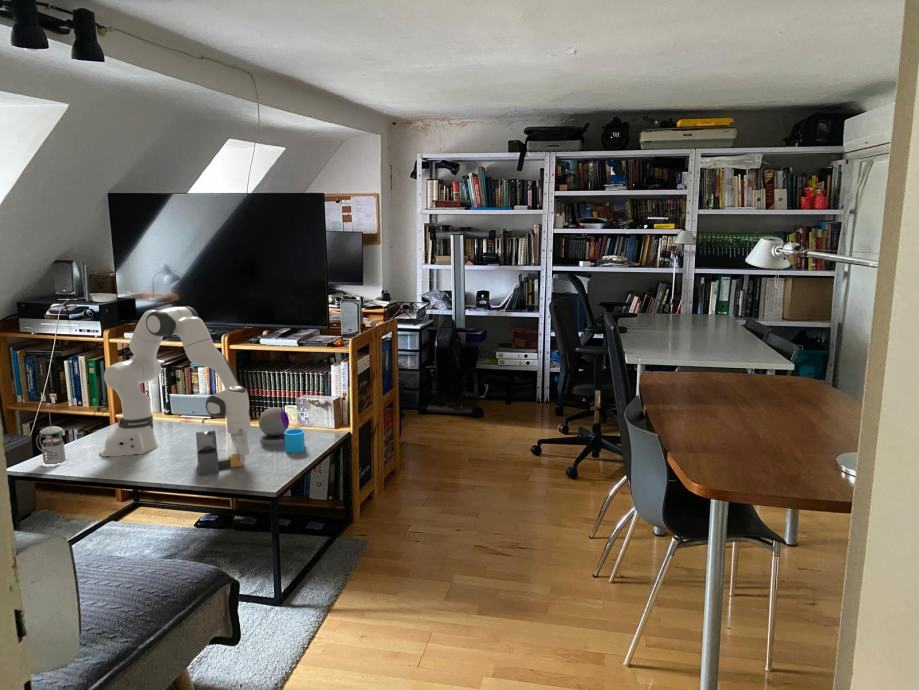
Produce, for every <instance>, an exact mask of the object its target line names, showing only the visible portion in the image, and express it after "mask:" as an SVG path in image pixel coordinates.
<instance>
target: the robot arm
mask: <svg viewBox="0 0 919 690" xmlns="http://www.w3.org/2000/svg"><path fill="white" fill-rule="evenodd" d="M174 335H175V336H177V337H179V338H180V341H181V343H182V346H183V349H184V352H185V355H186V357H187V358H188V360H189V361H190V362H191V363H193V364H194V365H196V366H199V367H203V368H209V369H212V370H213V371H214V372H216V374H217V375H218V378H219V379H220V381H221V383H222V385H223V387H224V388H225V389H224V390H222V391H220V392H216V393H213V394H211V395H209V396H207V399H206V400H205V409H206V412H207V413H208V415H209V416H211V417H212V418H216V419H217V418H226V428H227V429H226V431H227V433H228V434H230V438H231V441H232V444H233V446H234V448H235V449H236V454H237V453H239V456H240V457H239V459H240V462H244V463H245V457H246V456H249V454H250V450H249V449H250V448H249V439H248V434H249V432H250V431H251V428H252V426H251V416H250V400H249V399H250V397H249V395H248V391H247V389H246V387H244V386H242V385H241V384H240V382H239V380H238V378H237V376H236V374H235V372H234V370H233V368H232V367H231V365H230V363H229V360H228V359H227V358H226V356H225V355H224V354H223V353H222V352H220V351H219V349H218V348H217V347H216V346H215V344H214V342H213V339H212V337H211V334H210V332H209V329H208V328H207V326H206V324H205V322H204V321H203V319H201V317H199V315H198V312H197V311H196V310H195V309H194V308H193V307H191V306H186V305H185V306H184V305H181V306H171V307H166V308H162V309H149V310H147V311H145V312H144V313H143V314H142V316H141V317H140V319H139V320H138V323H137V324H136V327H135V328H134V332H133V334H132V336H131V338H130V341H129V345H128V347H129V350H130V352H131V353H132V354H133V355H132V357H131V358H130V359H127V360H124V361H123V360H122V361H118V362H116V363H113V364H112V365H109V366H108V367H106V368H105V371H104V372H103V373H104V374H103V379H104V382H105V384H106V386H108V387H109V388H111V389H112V390H114V391H115V392H116V393H117V395H118V397H119V399H120V402H121V403H120V404H121V410H122V412H121V413H122V416H118V418H117V425H118V427H116V429H114V430H113V431H112V432H111V433H110V434H108V436H107V437H106V440H105V442H104V446H103V447H101V449H100V450H99V455H100V456H101V457H103V456H104V457H103V458H106V457H105V456H110V457H122V456H123V455H125V456H134V455H133V454H139V455H143V454H145V453H147V452H151V451H152V450H155V449H157V448H158V447H159V444H158V441H157V439H156V435H155V430H154V426H155V423H154V415H153V414H152V407H151V406H152V405H151V398H150V396H149V395H148V394H147V393H144V392H142V391H141V388H140V385H141V384H143V383H147V382H150V381H152V380H154V379H156V378H158V377H159V376H160V375H161V372H162V365H161V362H160V361H159V359H158V358H157V355H158V351H159V348H160V346H161V343H162V340H163V338H164V337H172V336H174ZM123 457H124V456H123Z"/></svg>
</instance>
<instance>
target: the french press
mask: <svg viewBox="0 0 919 690" xmlns="http://www.w3.org/2000/svg"><path fill="white" fill-rule="evenodd" d="M45 407H48V409H50V407H52V403H49V402H48V403H46V404H45ZM50 413H51V412H50V410H48V414H49V418H51V414H50ZM49 424H50V425H49V426H46V427H45V428H43V429H40V431H39V434H38V435H37V436H36V439H35V441H36V446H37V448H38V449H39V450H40V451H41V452H42V453H41V454H42V461H43V462H44V463H45V464H57V463H62V462H64V461H66V460H68V459H67V457H66V452H65V442H64V440H63V438H62V437H49V438H46V439H44V440H42V441H39V444H40V446H41V448H40V447H39V445H38V438H44V437H46V435H51V436H53V435H54V434H58V433H61V432H63V428H62V427H60V426H54V425H53V426H52V422H51V419H49ZM43 435H44V436H43ZM39 436H40V437H39ZM41 442H42V443H41ZM43 462H42V463H43Z"/></svg>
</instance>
